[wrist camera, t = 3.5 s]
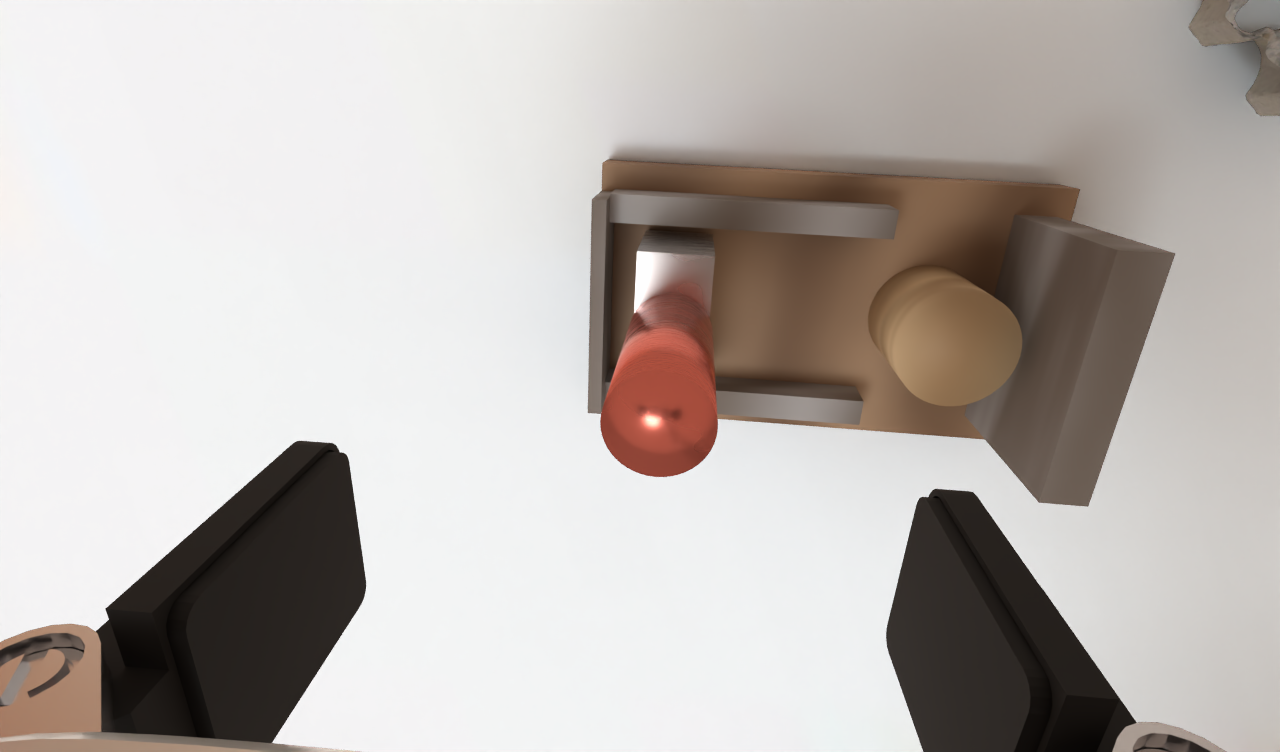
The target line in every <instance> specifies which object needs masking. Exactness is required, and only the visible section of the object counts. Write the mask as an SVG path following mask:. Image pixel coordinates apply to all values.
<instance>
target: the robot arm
mask: <svg viewBox="0 0 1280 752" xmlns="http://www.w3.org/2000/svg"><path fill="white" fill-rule="evenodd" d="M365 591H366V578H365V571H364V564H363V557H362V550H361V543H360V536H359V529H358V522H357V515H356V508H355V501H354V494H353V487H352V480H351V473H350V466H349V460H348V457H347V455H346V454H345V453H340V452H339V450H338V448H337V446H336V445H334V444H333V443H322V442H309V441H297V442H295V443H293V444H292V445H291V446H290V447H289V448H287V449H286V450H285V451H284V452H283V453H282V454H281V455H280V456H278V457H277V458H276V459H275V460H274V461H273V462H272V463H270V464H269V465H268V466H267V467H266V468H265V469H264V470H263V471H261V472H260V473H259V474H258V475H257V476H256V477H255V478H253V479H252V480H251V481H250V482H249V483H248V484H247V485H246V486H244V487H243V488H242V489H241V490H240V491H239V492H238V493H236V494H235V495H234V496H233V497H232V498H231V499H230V500H228V501H227V502H226V503H225V504H224V505H223V506H222V507H221V508H219V509H218V510H217V511H216V512H215V513H214V514H213V515H211V516H210V517H209V518H208V519H207V520H206V521H205V522H204V523H202V524H201V525H200V526H199V527H198V528H197V529H196V530H194V531H193V532H192V533H191V534H190V535H189V536H188V537H186V538H185V539H184V540H183V541H182V542H181V543H180V544H179V545H177V546H176V547H175V548H174V549H173V550H172V551H171V552H169V553H168V554H167V555H166V556H165V557H164V558H163V559H162V560H160V561H159V562H158V563H157V564H156V565H155V566H154V567H152V568H151V569H150V570H149V571H148V572H147V573H146V574H145V575H143V576H142V577H141V578H140V579H139V580H138V581H137V582H135V583H134V584H133V585H132V586H131V587H130V588H129V589H127V590H126V591H125V592H124V593H123V594H122V595H121V596H120V597H118V598H117V599H116V600H115V601H114V602H113V603H112V604H110V605H109V606H108V607H107V608H106V612H107V615H108V618H109V620H108V621H107V622H106V623H105V624H104V625H102V626H101V627H100V628H99V629H98V630H97V631H96V632H95V631H94V630H92V629H90V628H89V627H87V626H82V625H76V624H62V625H51V626H46V627H42V628H38V629H34V630H30V631H27V632H24V633H22V634H19V635H16V636H14V637H11V638H8V639H6V640H4V641H2V642H0V752H360V751H350V750H339V749H328V748H317V747H306V746H295V745H284V744H274V743H272V742H273V740H274V739H275V737H276V736H277V734H278V732H279V731H280V729H281V728H282V726H283V725H284V723H285V722H286V720H287V718H288V717H289V715H290V714H291V712H292V711H293V709H294V708H295V706H296V705H297V703H298V701H299V700H300V698H301V697H302V695H303V694H304V692H305V691H306V689H307V688H308V686H309V684H310V683H311V681H312V680H313V678H314V677H315V675H316V674H317V672H318V671H319V669H320V667H321V666H322V664H323V663H324V661H325V660H326V658H327V657H328V655H329V653H330V652H331V650H332V649H333V647H334V646H335V644H336V643H337V641H338V640H339V638H340V636H341V635H342V633H343V632H344V630H345V629H346V627H347V626H348V624H349V623H350V621H351V619H352V618H353V616H354V615H355V613H356V612H357V610H358V609H359V607H360V605H361V603H362V601H363V599H364V595H365ZM886 639H887V648H888V651H889V655H890V657H891V660H892V663H893V666H894V669H895V672H896V675H897V677H898V680H899V683H900V686H901V689H902V692H903V695H904V697H905V700H906V703H907V706H908V709H909V712H910V715H911V717H912V720H913V723H914V726H915V729H916V732H917V735H918V737H919V740H920V743H921V746H922V749H923V752H1226V751H1224V750H1223V749H1221V748H1219V747H1218V746H1216V745H1215V744H1213V743H1211V742H1210V741H1208V740H1206V739H1205V738H1202V737H1200V736H1198V735H1195V734H1193V733H1191V732H1188V731H1186V730H1184V729H1181V728H1178V727H1174V726H1170V725H1166V724H1162V723H1158V722H1138V723H1136V721H1135V720H1134V718H1133V717H1132V715H1131V714H1130V713H1129V711H1128V710H1127V708H1126V707H1125V706H1124V704H1123V703H1122V701H1121V700H1120V698H1119V697H1118V696H1117V694H1116V693H1115V691H1114V690H1113V688H1112V687H1111V686H1110V684H1109V683H1108V681H1107V680H1106V678H1105V677H1104V676H1103V674H1102V673H1101V671H1100V670H1099V669H1098V667H1097V666H1096V664H1095V663H1094V661H1093V660H1092V659H1091V657H1090V656H1089V654H1088V653H1087V651H1086V650H1085V649H1084V647H1083V646H1082V644H1081V643H1080V642H1079V640H1078V639H1077V637H1076V636H1075V634H1074V633H1073V632H1072V630H1071V629H1070V627H1069V626H1068V624H1067V623H1066V622H1065V620H1064V619H1063V617H1062V616H1061V615H1060V613H1059V612H1058V610H1057V609H1056V607H1055V606H1054V605H1053V603H1052V602H1051V600H1050V599H1049V597H1048V596H1047V595H1046V593H1045V592H1044V590H1043V589H1042V588H1041V587H1040V585H1039V584H1038V583H1037V581H1036V580H1035V578H1034V577H1033V575H1032V574H1031V573H1030V571H1029V570H1028V568H1027V567H1026V565H1025V564H1024V563H1023V561H1022V560H1021V558H1020V557H1019V556H1018V554H1017V553H1016V551H1015V550H1014V548H1013V547H1012V546H1011V544H1010V543H1009V541H1008V540H1007V538H1006V537H1005V536H1004V534H1003V533H1002V531H1001V530H1000V528H999V527H998V526H997V524H996V523H995V521H994V520H993V519H992V517H991V516H990V514H989V513H988V511H987V510H986V509H985V507H984V506H983V504H982V503H981V501H980V500H979V499H978V497H977V496H976V495H975V494H974V493H973V492H969V491H956V490H942V489H934V490H933V491H932V492H931V493H930V495H929V497H921V498H920V499H919V500H918V502H917V505H916V509H915V513H914V517H913V521H912V526H911V530H910V534H909V538H908V542H907V546H906V550H905V555H904V559H903V563H902V567H901V571H900V575H899V579H898V583H897V588H896V592H895V596H894V600H893V604H892V608H891V612H890V616H889V621H888V625H887V632H886Z"/></svg>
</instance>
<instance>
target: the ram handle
mask: <svg viewBox="0 0 1280 752" xmlns="http://www.w3.org/2000/svg"><path fill="white" fill-rule="evenodd" d="M714 263H715V250H714V240H713V234H703V233H686V232H670V231H654V230H646V232H645V234H644V236H643V239H642V241H641V243H640V245H639V248H638V250H637V261H636V284H635V306H634V315H633V317H632V319H631V322H630V325H629V328H628V331H627V334H626V337H625V340H624V343H623V346H622V350H621V353H620V356H619V359H618V362H617V365H616V368H615V371H614V374H613V377H612V380H611V384H610V387H609V390H608V393H607V396H606V399H605V402H604V405H603V409H602V413H601V420H600V423H601V432H602V436H603V439H604V442H605V444H606V446H607V448H608V449H609V451H610V452H611V454H612V455H613V456H614V457H615V458H616V459H617V460H618V461H619V462H620V463H621V464H623V465H624V466H626V467H627V468H629V469H631V470H633V471H635V472H638V473H640V474H644V475H648V476H654V477H667V476H674V475H678V474H681V473H684V472H686V471H688V470H690V469H692V468H694V467H695V466H697V465H698V464H699V463H700V462H701V461H703V460H704V458H705V457H706V456H707V455H708V454H709V452H710V451H711V449H712V447H713V445H714V442H715V439H716V436H717V429H718V420H717V402H716V384H715V366H714V348H713V331H712V324H711V321H710V308H711V297H712V286H713V274H714Z"/></svg>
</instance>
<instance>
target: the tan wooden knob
mask: <svg viewBox="0 0 1280 752" xmlns="http://www.w3.org/2000/svg"><path fill="white" fill-rule="evenodd" d="M868 328H869V333H870V336H871V338H872V340H873V342H874V344H875V345H876V347H877V348H878V350H879V351H880V352H881V354H882V355H883V356H884V358H885V359H886V360H887V362H888V363H889V365H890V366H891V367H892V369H893V370H894V371H895V373H896V374H897V376H898V377H899V378H900V380H901V381H902V382H903V384H904V385H905V386H906V388H907V389H908V390H909V391H910V392H911V393H912V394H914V395H915V396H916V397H918V398H920V399H921V400H923V401H926V402H928V403H931V404H935V405H939V406H961V405H966V404H970V403H973V402H976V401H979V400H981V399H983V398H985V397H987V396H989V395H990V394H992V393H993V392H995V391H996V390H997V389H999V388H1000V387H1001V386H1002V385H1003V384H1004V383H1005V382H1006V381H1007V379H1008V378H1009V377H1010V376H1011V374H1012V373H1013V371H1014V370H1015V368H1016V366H1017V364H1018V361H1019V358H1020V355H1021V350H1022V333H1021V329H1020V325H1019V323H1018V321H1017V319H1016V317H1015V315H1014V314H1013V312H1012V311H1011V310H1010V309H1009V308H1008V307H1007V306H1006V305H1005V304H1003V303H1002V302H1001V301H999V300H998V299H996V298H994V297H993V296H991V295H990V294H988V293H987V292H985V291H984V290H982V289H981V288H979V287H978V286H976V285H975V284H973V283H971V282H970V281H968V280H967V279H965V278H964V277H962V276H961V275H959V274H958V273H956V272H954V271H953V270H950V269H948V268H945V267H942V266H936V265H921V266H915V267H911V268H908V269H906V270H903V271H901V272H899V273H897V274H896V275H894V276H893V277H891V278H890V279H889V280H888V281H887V282H885V284H884V285H883V286H882V287H881V288H880V289H879V291H878V292H877V293H876V295H875V297H874V299H873V301H872V303H871V306H870V309H869V314H868Z"/></svg>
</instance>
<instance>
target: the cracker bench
mask: <svg viewBox="0 0 1280 752" xmlns="http://www.w3.org/2000/svg"><path fill="white" fill-rule="evenodd" d="M1079 191H1080V189H1077V188H1072V187H1068V186H1063V185H1056V184H1038V183H1020V182H1002V181H983V180H965V179H947V178H929V177H911V176H892V175H874V174H856V173H838V172H819V171H801V170H783V169H765V168H747V167H728V166H710V165H692V164H674V163H655V162H637V161H619V160H607V161H605V162H603V165H602V191H601V192H600V193H599V194H598V195H596V196H595V197H594V198H593V199H592V223H591V276H590V329H589V382H588V413H597V414H601V412H602V409H603V405H604V402H605V399H606V396H607V393H608V390H609V387H610V384H611V380H612V377H613V374H614V371H615V368H616V365H617V362H618V359H619V356H620V353H621V350H622V346H623V343H624V340H625V337H626V334H627V331H628V328H629V325H630V322H631V319H632V317H633V315H634V306H635V284H636V261H637V250H638V248H639V245H640V243H641V241H642V239H643V236H644V234H645V232H646V230H654V231H670V232H686V233H703V234H713V240H714V250H715V263H714V274H713V286H712V297H711V308H710V321H711V324H712V331H713V348H714V366H715V384H716V402H717V419H728V420H741V421H754V422H767V423H780V424H793V425H806V426H819V427H832V428H845V429H858V430H871V431H884V432H897V433H910V434H923V435H936V436H949V437H962V438H975V439H985V440H986V441H987V442H988V443H989V445H990V446H991V447H992V448H993V449H994V450H995V452H996V453H997V454H998V455H999V456H1000V457H1001V459H1002V460H1003V461H1004V462H1005V463H1006V464H1007V466H1008V467H1009V468H1010V469H1011V470H1012V471H1013V473H1014V474H1015V475H1016V476H1017V477H1018V478H1019V480H1020V481H1021V482H1022V483H1023V484H1024V485H1025V487H1026V488H1027V489H1028V490H1029V491H1030V493H1031V494H1032V495H1033V496H1034V497H1035V498H1036V500H1037V501H1038V502H1040V503H1052V504H1064V505H1076V506H1088V505H1089V502H1090V500H1091V497H1092V494H1093V491H1094V488H1095V485H1096V482H1097V479H1098V476H1099V473H1100V471H1101V468H1102V465H1103V462H1104V459H1105V456H1106V453H1107V450H1108V447H1109V444H1110V442H1111V439H1112V436H1113V433H1114V430H1115V427H1116V424H1117V421H1118V418H1119V415H1120V413H1121V410H1122V407H1123V404H1124V401H1125V398H1126V395H1127V392H1128V389H1129V386H1130V383H1131V381H1132V378H1133V375H1134V372H1135V369H1136V366H1137V363H1138V360H1139V357H1140V354H1141V352H1142V349H1143V346H1144V343H1145V340H1146V337H1147V334H1148V331H1149V328H1150V325H1151V323H1152V320H1153V317H1154V314H1155V311H1156V308H1157V305H1158V302H1159V299H1160V296H1161V294H1162V291H1163V288H1164V285H1165V282H1166V279H1167V276H1168V273H1169V270H1170V267H1171V265H1172V262H1173V259H1174V256H1175V253H1171V252H1168V251H1165V250H1162V249H1159V248H1155V247H1152V246H1149V245H1146V244H1142V243H1139V242H1136V241H1133V240H1130V239H1126V238H1123V237H1120V236H1117V235H1114V234H1110V233H1107V232H1104V231H1101V230H1097V229H1094V228H1091V227H1088V226H1085V225H1081V224H1078V223H1075V222H1072V221H1071V219H1072V216H1073V212H1074V209H1075V205H1076V202H1077V198H1078V194H1079ZM921 265H936V266H942V267H945V268H948V269H950V270H953V271H954V272H956V273H958V274H959V275H961V276H962V277H964V278H965V279H967V280H968V281H970V282H971V283H973V284H975V285H976V286H978V287H979V288H981V289H982V290H984V291H985V292H987V293H988V294H990V295H991V296H993V297H994V298H996V299H998V300H999V301H1001V302H1002V303H1003V304H1005V305H1006V306H1007V307H1008V308H1009V309H1010V310H1011V311H1012V312H1013V314H1014V315H1015V317H1016V319H1017V321H1018V323H1019V325H1020V329H1021V333H1022V350H1021V355H1020V358H1019V361H1018V364H1017V366H1016V368H1015V370H1014V371H1013V373H1012V374H1011V376H1010V377H1009V378H1008V379H1007V381H1006V382H1005V383H1004V384H1003V385H1002V386H1001V387H1000V388H999V389H997V390H996V391H995V392H993V393H992V394H990V395H989V396H987V397H985V398H983V399H981V400H979V401H976V402H973V403H970V404H966V405H961V406H939V405H935V404H931V403H928V402H926V401H923V400H921V399H920V398H918V397H916V396H915V395H914V394H912V393H911V392H910V391H909V390H908V389H907V388H906V386H905V385H904V384H903V382H902V381H901V380H900V378H899V377H898V376H897V374H896V373H895V371H894V370H893V369H892V367H891V366H890V365H889V363H888V362H887V360H886V359H885V358H884V356H883V355H882V354H881V352H880V351H879V350H878V348H877V347H876V345H875V344H874V342H873V340H872V338H871V336H870V333H869V328H868V314H869V309H870V306H871V303H872V301H873V299H874V297H875V295H876V293H877V292H878V291H879V289H880V288H881V287H882V286H883V285H884V284H885V282H887V281H888V280H889V279H890V278H891V277H893V276H894V275H896V274H897V273H899V272H901V271H903V270H906V269H908V268H911V267H915V266H921Z"/></svg>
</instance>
